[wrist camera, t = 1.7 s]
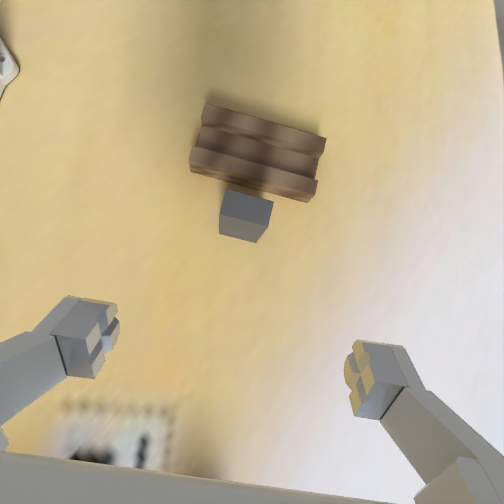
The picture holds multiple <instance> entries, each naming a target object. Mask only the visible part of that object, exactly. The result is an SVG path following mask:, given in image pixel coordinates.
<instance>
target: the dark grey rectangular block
mask: <svg viewBox="0 0 504 504" xmlns="http://www.w3.org/2000/svg"><path fill="white" fill-rule="evenodd" d="M273 203H274V202H273V201H270V200H266V199H262V198H258V197H255V196H251V195H247V194H244V193H240V192H236V191H232V190H229V189H226V192H225V196H224V200H223V204H222V207H221V211H220V221H219V234H222V235H226V236H230V237H234V238H238V239H242V240H246V241H250V242H254V243H256V242H257V241H258V240H259V238H260V237H261V235H262V234H263V233H264V231H265V230H266V229H267V227H268V225H269V220H270V216H271V212H272V207H273Z"/></svg>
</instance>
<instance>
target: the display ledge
mask: <svg viewBox="0 0 504 504" xmlns="http://www.w3.org/2000/svg"><path fill="white" fill-rule="evenodd" d="M201 118H202V127H201V131H200V134H199V138H198V141H197V144H196V146H193V147H192V150H191V154H190V157H189V164H190V170H191V172H194V173H198V174H201V175H205V176H209V177H213V178H216V179H220V180H224V181H227V182H231V183H235V184H239V185H242V186H246V187H250V188H253V189H257V190H261V191H264V192H268V193H272V194H276V195H279V196H283V197H287V198H290V199H294V200H298V201H302V202H305V203H308V202H309V201H310V199H311V198H312V197H313V196H314V195H315V193H316V188H317V183H318V180H315V175H316V170H317V165H318V160H319V158H320V156H321V155H322V154H323V152H324V148H325V143H326V138H324V137H320V136H317V135H313V134H310V133H306V132H303V131H300V130H296V129H293V128H289V127H286V126H282V125H279V124H275V123H272V122H269V121H265V120H262V119H258V118H255V117H251V116H248V115H245V114H241V113H238V112H234V111H231V110H227V109H224V108H221V107H217V106H214V105H210V104H207V103H205V106H204V109H203V113H202V116H201Z"/></svg>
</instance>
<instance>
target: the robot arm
mask: <svg viewBox="0 0 504 504" xmlns="http://www.w3.org/2000/svg"><path fill="white" fill-rule="evenodd" d="M18 72H19V67H18V65H17V64H16V62H15V60H14V59H13V57H12V55H11V54H10V52H9V51H8V49H7V47H6V46H5V44H4V42H3V41H2V39H1V38H0V97H1V95H2V92H3V90H4V88H5V86H6V85H7V84H8V83H9V82H11V81H12V80H13V79H14V78H15V77H16V75H17V74H18ZM117 312H118V309H117V304H115V303H111V302H105V301H100V300H94V299H88V298H81V297H75V296H70V295H69V296H67V297H64V298H63V299H62V300H61V301H60V302H59V303H58V304H57V305H56V306H55V308H54V309H53V310H52V311H51V312H50V313H49V314H48V315H47V316H46V317H45V318H44V319H43V320H42V321H41V322H40V323H39V324H38V325H37V326H36V327H35V328H34V329H33V330H32V331H31V332H24V333H22V334H19V335H17V336H15V337H13V338H10V339H8V340H6V341H4V342H2V343H0V504H395V503H387V502H380V501H373V500H365V499H358V498H350V497H343V496H336V495H328V494H321V493H313V492H306V491H299V490H291V489H284V488H276V487H269V486H262V485H254V484H247V483H239V482H232V481H225V480H217V479H210V478H202V477H195V476H188V475H180V474H173V473H165V472H158V471H151V470H143V469H136V468H128V467H121V466H113V465H106V464H99V463H91V462H84V461H76V460H69V459H61V458H54V457H47V456H39V455H32V454H24V453H17V452H9V451H4V450H5V448H6V447H7V445H8V444H9V442H8V437H7V436H6V434H5V432H4V431H3V429H2V427H1V425H2V424H4V423H5V422H6V421H8V420H9V419H10V418H12V417H13V416H15V415H16V414H17V413H19V412H20V411H21V410H23V409H24V408H26V407H27V406H28V405H30V404H31V403H32V402H34V401H35V400H37V399H38V398H39V397H41V396H42V395H43V394H45V393H46V392H47V391H49V390H50V389H52V388H53V387H54V386H56V385H57V384H58V383H60V382H61V381H63V380H64V379H65V378H67V376H73V377H82V378H91V379H95V377H96V376H97V374H98V372H99V371H100V369H101V367H102V366H103V364H104V362H105V355H104V354H105V353H107V352H109V351H110V350H112V349H113V347H114V345H115V344H116V342H117V339H118V335H119V330H120V324H119V321H118V320H117V319H116V317H115V315H116V314H117ZM352 349H353V353H351V354H350V355H348V356H347V358H346V361H345V365H344V377H345V381H346V384H347V385H348V386H349V388H350V389H351V390H352V392H351V393H350V395H349V398H350V402H351V406H352V410H353V413H354V416H357V417H362V418H368V419H374V420H380V423H381V424H382V426H383V427H384V428H385V430H386V431H387V432H388V434H389V435H390V436H391V438H392V439H393V440H394V442H395V443H396V444H397V446H398V447H399V448H400V450H401V451H402V453H403V454H404V455H405V457H406V458H407V459H408V461H409V462H410V463H411V465H412V466H413V467H414V469H415V470H416V471H417V473H418V474H419V475H420V477H421V478H422V479H423V481H424V482H425V483H426V486H424V487H423V488H422V489H421V490H420V491H419V492H418V493H417V494H416V495H415V497H414V500H415V503H416V504H504V456H503V455H502V454H501V453H500V452H499V451H497V450H496V449H495V448H494V447H493V446H492V445H491V444H490V443H488V442H487V441H486V440H485V439H484V438H483V437H482V436H481V435H479V434H478V433H477V432H476V431H475V430H474V429H473V428H472V427H471V426H469V425H468V424H467V423H466V422H465V421H464V420H463V419H462V418H460V417H459V416H458V415H457V414H456V413H455V412H454V411H453V410H451V409H450V408H449V407H448V406H447V405H446V404H445V403H444V402H443V401H441V400H440V399H439V398H438V397H437V396H436V395H435V394H434V393H432V392H431V391H428V390H426V389H425V387H424V385H423V383H422V381H421V379H420V377H419V375H418V373H417V371H416V369H415V367H414V365H413V363H412V361H411V359H410V357H409V356H408V354H407V352H406V350H405V348H404V347H403V346H400V345H393V344H385V343H379V342H372V341H365V340H356V341H355V342H354V344H353V346H352Z"/></svg>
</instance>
